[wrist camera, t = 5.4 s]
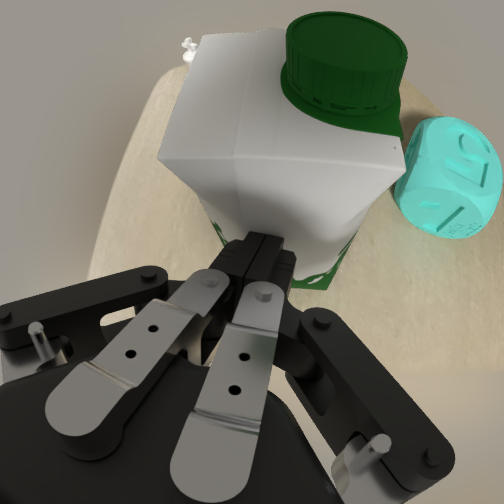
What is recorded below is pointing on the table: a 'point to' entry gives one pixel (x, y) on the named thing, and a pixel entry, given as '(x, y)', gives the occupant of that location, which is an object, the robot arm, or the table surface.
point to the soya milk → (292, 133)
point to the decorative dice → (449, 178)
